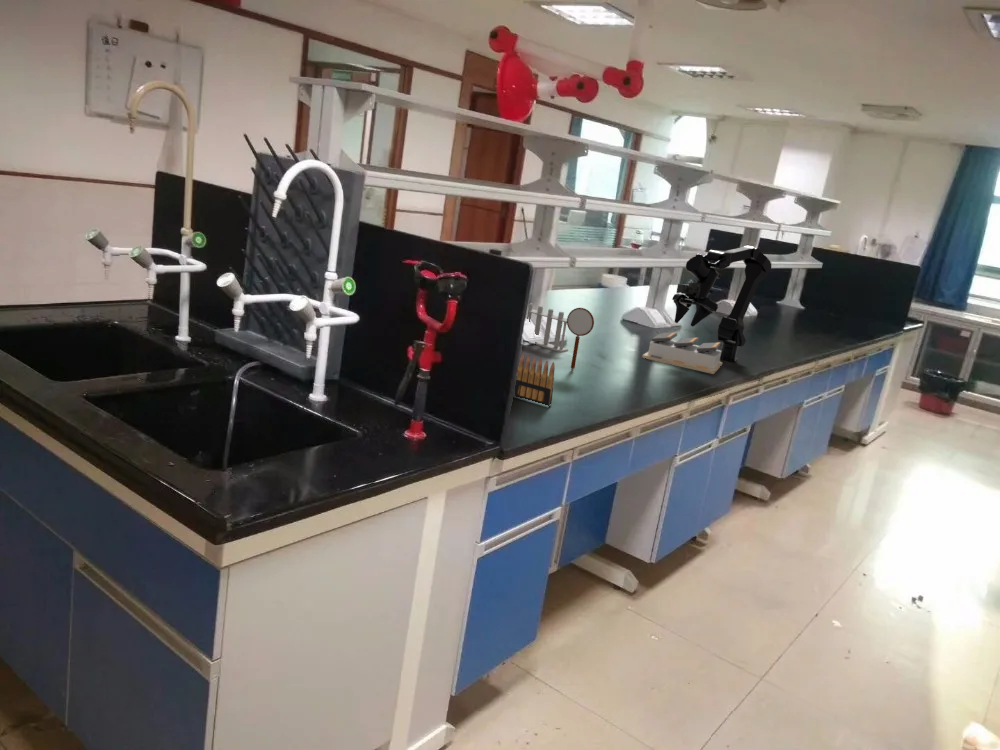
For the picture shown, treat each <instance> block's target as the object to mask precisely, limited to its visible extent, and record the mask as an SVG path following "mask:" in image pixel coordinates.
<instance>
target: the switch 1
mask: <svg viewBox="0 0 1000 750" xmlns="http://www.w3.org/2000/svg"><path fill="white" fill-rule="evenodd" d="M677 336H678V333H677V332H669V333H659V334H657V335H656V336H654V337H652V338H651V342H652V341H670V340H674V338H676V337H677Z"/></svg>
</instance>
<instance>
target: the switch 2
mask: <svg viewBox="0 0 1000 750" xmlns="http://www.w3.org/2000/svg"><path fill="white" fill-rule="evenodd" d="M698 346H699V347H698V348H697V351H716V350H719V348H720V347H722V341H721V342H720V341H719V342H703V343H701V344H700V345H698Z"/></svg>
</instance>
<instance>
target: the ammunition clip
mask: <svg viewBox="0 0 1000 750" xmlns="http://www.w3.org/2000/svg"><path fill="white" fill-rule="evenodd" d="M518 362H519V363H518V367H517V370H518V372H517V371H516V376H517V379H516V378H515V379H516V385H515V396H516V397H520V398H525V399H528V400H532V401H535V402H538V403H542V404H545V405H548V406H549V405H550V404H551V405H552V400H553V392H554V381H555V369H556V368H555V362H554V361H553V362H552V363H551V365H550V368H549V361H548V360H546V361H545V363H544V366H543V360H542V359H541V358H540V359H539V360H538V362H537V359H536V357H533V358H532V361H531V357H530V355H528V356H527V358H526V360H525V356H524V354H523V353H522V355H521V356H520V358H519V361H518ZM537 363H538V364H537ZM536 367H537V368H536ZM542 369H543V370H542Z"/></svg>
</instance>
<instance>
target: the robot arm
mask: <svg viewBox="0 0 1000 750" xmlns="http://www.w3.org/2000/svg"><path fill="white" fill-rule="evenodd" d="M741 261H743V264H744V265H745V268H744V275H745V279H744V281H743V283H742V286H741V288H740V291H739V292H738V295H737V297H736V299H735V302H734V305H733V307H732V309H731V311H730V314H728V315H727V316H722V318H721V321H720V323H719V325H718V328H717V341H719V342H720V341H721V344H722V345H721V349H720V350H721V351H722V352H721V356H720V360H724V361H728V362H732V363H735V362H736V361H737V360H738V357H737V353H738V348H739V347H743V346H744V345H745V344H746V342H747V340H746V338H745V335H744V333H743V332H744V329H745V324H744V318H745V315H746V314H747V312H748V309H749V306H750V304H751V302H752V300H753V298H754V295H755V293H756V291H757V288H758V286H759V284H760V283H761V282H762V281H764V280H765V279H766V278H767V276H768V274H769V273H770V271H771V270H772V263H771V261H770V259H769V257H767V256H766V255H765V254H764V253H762V252H761V250H760V249H759V248H758V247H757V246H752V245H744V246H742V247H737V248H733V249H728V250H717V249H710V250H708V251H707V253H705V254H704V255H702V254H700V253H696V254H695V255H694V256H692V257H691V258H689V259H688V260H687V261H686V264H685V268H686V269H685V270H686V271H687V272H689V273H690V274H691V275H693V276H694V277H695V278H696V282H689V284H683V283H682V284H681V283H678V284H677V287H676V293H674V295H673V297H672V298H671V300H672V301H673V303H674V304H675V307H676V309H675V316H674V323H675V324H678V323H679V322H680V321H681V320H682V319H683V318H684V317H685V315H686V314H687V313H688V312H689V310H690V307H692V305H693V306H695V309H696V311H695V313H694V315H693V317H692V319H691V323H690V326H691V327H694V326H696V325H697V324H699V323H700V322H701V321H702V320H704V319H706V318H707V317H708V316H710V315H712V314H713V313H716V312H717V310H718V309H719V306H718V303H717V302H716V301H714V300H713V299H711V298H709V297H708V296H709V295H711V294H713V292H714V291H713V290H712V289H713V286H714V284H715V282H716V280H717V279H719V280H721V279H722V275H721V271H720V270H724V269H726V268H729V267H730V266H731V264H732V263H738V262H741ZM693 276H692V277H693Z"/></svg>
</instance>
